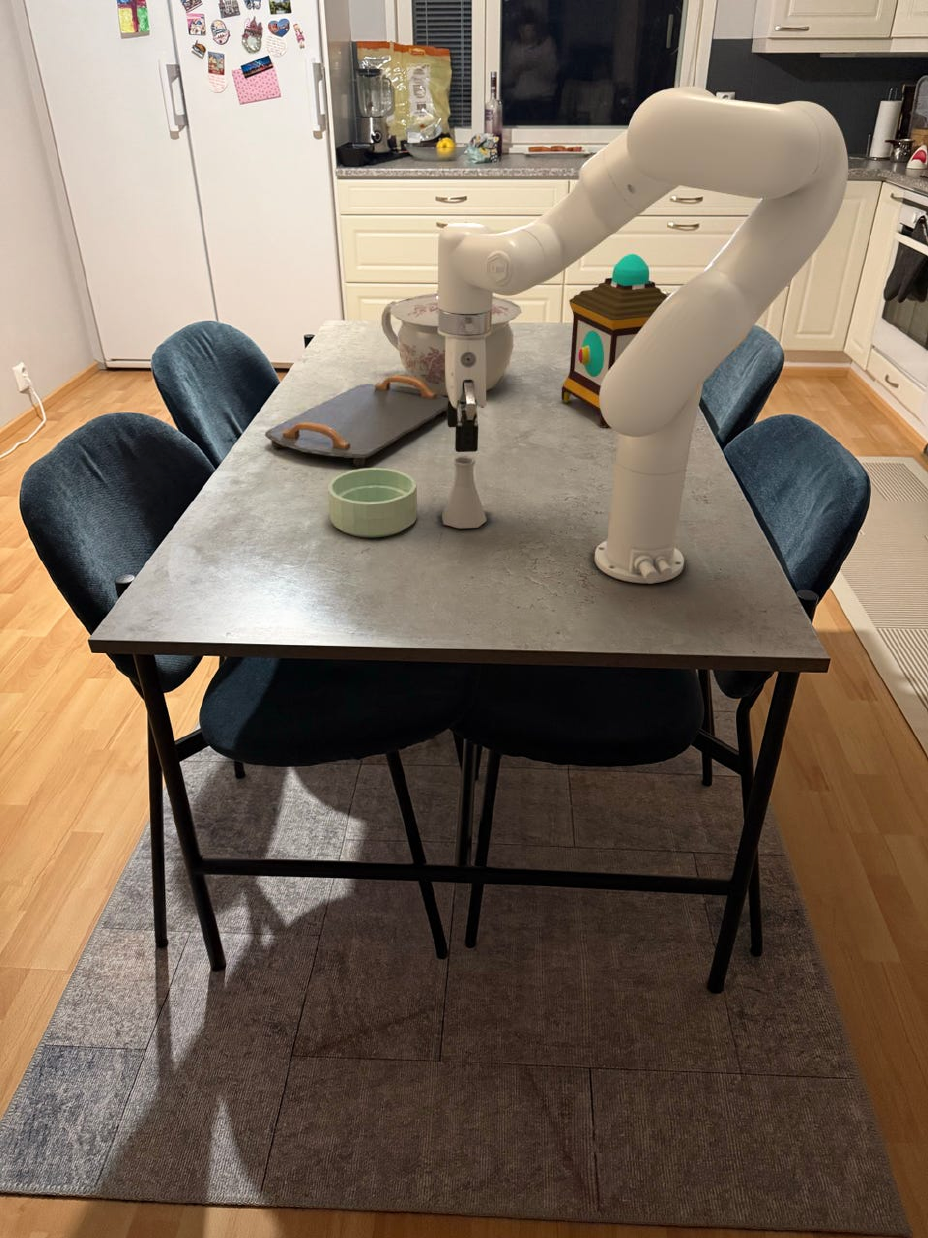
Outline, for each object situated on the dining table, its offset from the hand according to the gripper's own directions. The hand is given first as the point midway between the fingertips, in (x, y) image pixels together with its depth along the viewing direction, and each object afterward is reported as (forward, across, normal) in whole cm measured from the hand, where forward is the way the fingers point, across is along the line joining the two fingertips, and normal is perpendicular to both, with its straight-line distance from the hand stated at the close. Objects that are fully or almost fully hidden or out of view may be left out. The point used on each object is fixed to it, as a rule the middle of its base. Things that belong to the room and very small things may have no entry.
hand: (462, 438), depth 135 cm
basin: (+14, +1, +13) cm, 19 cm away
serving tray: (+14, +41, +13) cm, 45 cm away
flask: (+14, 0, -1) cm, 14 cm away
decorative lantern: (+13, +47, -38) cm, 62 cm away
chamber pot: (+14, +65, -7) cm, 67 cm away
